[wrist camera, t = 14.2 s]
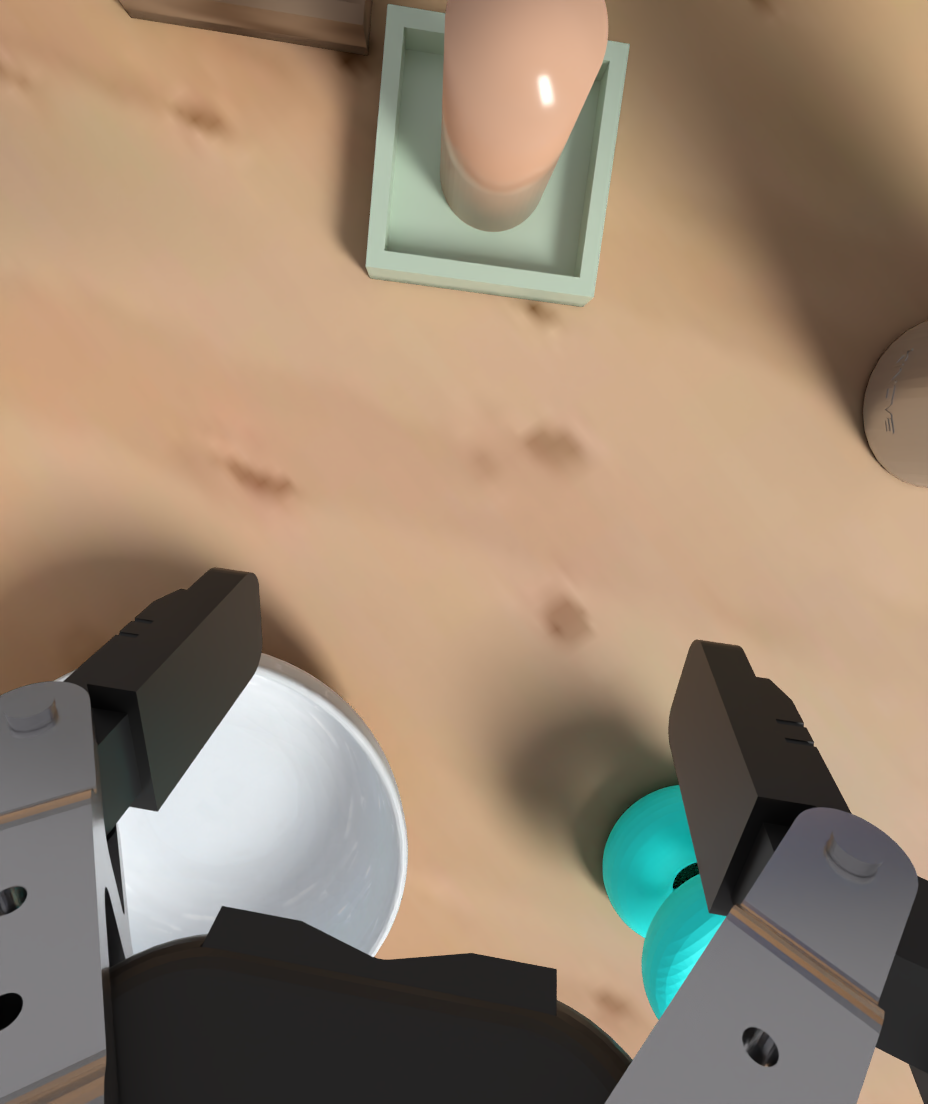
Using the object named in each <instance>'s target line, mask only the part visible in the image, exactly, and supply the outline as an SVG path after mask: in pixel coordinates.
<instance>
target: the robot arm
mask: <svg viewBox="0 0 928 1104" xmlns="http://www.w3.org/2000/svg"><path fill="white" fill-rule="evenodd" d="M863 419H864V430H865V433H866V437H867V440H868V443H869V446H870V448H871V450H872V451H873V453H874V455H875V457H876V458H877V460H878V461H879V462H880V464H881V465H882V466H883V467H884V468H885V469H886V470H887V471H888V472H889V473H891V474H892V475H894V476H895V477H897V478H898V479H900V480H901V481H903V482H906V483H909V484H912V485H915V486H917V487H926V488H928V321H925V322H922V323H920V324H919V325H917V326H915V327H913V328H911V329H910V330H908V331H906V332H905V333H904V334H903V335H901V336H900V337H899V338H898V339H897V340H896V341H894V342H893V343H892V344H891V345H890V347H889V348H888V349H887V350H886V352H885V353H884V354H883V355H882V357H881V358H880V359H879V361H878V363H877V365H876V367H875V369H874V370H873V372H872V374H871V376H870V379H869V383H868V386H867V389H866V392H865V398H864V407H863ZM261 653H262V628H261V612H260V596H259V583H258V579H257V577H256V575H255V574H254V573H249V572H243V571H236V570H229V569H222V568H216V567H215V568H211V569H210V570H208V571H207V572H206V573H205V574H204V575H203V576H202V577H201V578H200V579H199V580H197V581H196V582H195V583H194V584H193V585H192V586H191V587H190V588H189V589H188V590H184V589H179V590H177V591H175V592H173V593H171V594H169V595H166V596H164V597H162V598H160V599H158V600H156V601H154V602H153V603H151V604H150V605H149V606H148V607H147V608H146V609H145V610H143V611H142V612H141V613H140V614H139V615H138V616H137V617H136V618H135V621H131V622H130V623H129V624H128V625H126V626H125V627H124V628H123V629H122V630H121V631H120V634H119V635H115V636H114V637H113V638H112V639H111V640H109V641H108V642H107V643H106V644H105V645H104V646H103V647H101V648H100V649H99V650H98V651H97V652H96V653H95V654H93V655H92V656H91V657H90V658H89V659H88V660H87V661H86V662H84V663H83V664H82V665H81V666H80V667H79V668H78V669H76V670H75V671H74V672H73V673H72V674H71V675H70V676H69V677H67V678H66V679H65V680H64V681H63V682H61V681H50V682H41V683H35V684H30V685H26V686H23V687H20V688H17V689H14V690H12V691H9V692H7V693H5V694H3V695H1V696H0V1104H856V1103H857V1100H858V1097H859V1094H860V1091H861V1088H862V1085H863V1082H864V1079H865V1076H866V1073H867V1070H868V1067H869V1064H870V1061H871V1058H872V1055H873V1052H874V1049H875V1047H877V1048H879V1049H880V1050H882V1051H884V1052H886V1053H888V1054H890V1055H892V1056H894V1057H896V1058H898V1059H900V1060H902V1061H904V1062H906V1063H908V1064H909V1066H910V1069H911V1071H912V1074H913V1076H914V1079H915V1082H916V1084H917V1087H918V1089H919V1092H920V1095H921V1097H922V1100H923V1102H924V1104H928V881H927V880H925V879H923V878H921V877H918V876H917V874H916V871H915V868H914V866H913V864H912V863H911V861H910V859H909V858H908V856H907V855H906V854H905V852H904V851H903V850H902V849H901V848H900V847H899V845H898V844H897V843H896V842H895V841H893V840H892V839H891V838H890V837H889V836H888V835H887V834H885V833H884V832H883V831H881V830H880V829H879V828H877V827H876V826H874V825H872V824H871V823H869V822H867V821H866V820H864V819H862V818H860V817H858V816H855V815H853V814H851V812H850V810H849V808H848V806H847V804H846V802H845V800H844V798H843V797H842V795H841V793H840V791H839V789H838V787H837V785H836V783H835V781H834V779H833V778H832V776H831V774H830V772H829V770H828V768H827V766H826V764H825V762H824V760H823V759H822V757H821V755H820V753H819V751H818V749H817V747H814V741H813V739H812V738H811V736H810V734H809V732H808V730H807V728H805V727H804V722H803V720H802V719H801V717H800V715H799V713H798V711H797V709H796V707H795V705H794V703H793V701H792V700H791V699H790V698H789V697H788V696H787V695H786V694H785V693H784V692H783V691H781V690H780V689H779V688H778V687H777V686H776V685H775V684H774V683H773V682H772V681H771V680H770V679H766V678H760V677H756V676H755V674H754V672H753V670H752V668H751V665H750V663H749V661H748V659H747V657H746V655H745V653H744V651H743V649H742V648H741V647H740V646H737V645H730V644H724V643H717V642H710V641H703V640H695V641H693V643H692V644H691V646H690V648H689V651H688V654H687V658H686V661H685V664H684V667H683V671H682V674H681V677H680V680H679V684H678V687H677V690H676V694H675V697H674V700H673V703H672V707H671V711H670V716H669V727H668V734H669V743H670V748H671V752H672V757H673V761H674V765H675V770H676V774H677V778H678V782H679V787H680V791H681V795H682V800H683V804H684V808H685V813H686V817H687V821H688V826H689V830H690V834H691V838H692V843H693V847H694V851H695V856H696V860H697V864H698V869H699V873H700V877H701V881H702V886H703V890H704V894H705V899H706V903H707V907H708V912H709V913H711V914H717V915H722V916H726V918H725V919H724V921H723V922H722V924H721V925H720V927H719V929H718V930H717V932H716V933H715V935H714V936H713V938H712V939H711V941H710V942H709V944H708V945H707V947H706V948H705V950H704V952H703V953H702V955H701V956H700V958H699V959H698V961H697V962H696V964H695V965H694V967H693V968H692V970H691V972H690V973H689V975H688V976H687V978H686V979H685V981H684V982H683V984H682V985H681V987H680V988H679V990H678V992H677V993H676V995H675V996H674V998H673V999H672V1001H671V1002H670V1004H669V1005H668V1007H667V1008H666V1010H665V1012H664V1013H663V1015H662V1016H661V1018H660V1019H659V1021H658V1022H657V1024H656V1025H655V1027H654V1028H653V1030H652V1031H651V1033H650V1035H649V1036H648V1038H647V1039H646V1041H645V1042H644V1044H643V1045H642V1047H641V1048H640V1050H639V1051H638V1053H637V1055H636V1056H635V1058H634V1059H633V1060H632V1059H631V1057H630V1056H629V1055H628V1054H627V1053H626V1052H625V1051H624V1050H623V1049H622V1048H621V1047H620V1046H619V1045H618V1044H617V1043H616V1042H615V1041H614V1040H613V1039H612V1038H611V1037H610V1036H609V1035H608V1034H607V1033H605V1032H604V1031H603V1030H602V1029H601V1028H599V1027H598V1026H597V1025H596V1024H594V1023H593V1022H592V1021H591V1020H589V1019H588V1018H586V1017H585V1016H583V1015H582V1014H580V1013H579V1012H577V1011H576V1010H574V1009H573V1008H571V1007H569V1006H567V1005H565V1004H563V1003H562V1002H560V1001H558V1000H557V969H553V968H547V967H542V966H537V965H532V964H526V963H521V962H516V961H510V960H505V959H500V958H495V957H489V956H484V955H479V954H474V953H468V954H455V955H443V956H430V957H418V958H405V959H393V960H383V959H377V958H375V957H372V956H370V955H368V954H366V953H364V952H362V951H360V950H358V949H356V948H354V947H352V946H350V945H348V944H346V943H344V942H342V941H340V940H338V939H336V938H334V937H333V936H331V935H329V934H327V933H325V932H323V931H321V930H319V929H317V928H315V927H313V926H311V925H309V924H307V923H305V922H303V921H300V920H294V919H289V918H284V917H278V916H273V915H268V914H263V913H257V912H252V911H247V910H242V909H236V908H231V907H226V906H222V907H221V909H220V911H219V913H218V915H217V917H216V919H215V921H214V923H213V925H212V927H211V929H210V931H209V933H208V934H202V935H195V936H190V937H185V938H180V939H175V940H172V941H169V942H166V943H163V944H159V945H156V946H153V947H151V948H149V949H146V950H144V951H142V952H139V953H137V954H135V955H133V949H132V942H131V935H130V927H129V917H128V907H127V898H126V888H125V878H124V868H123V859H122V849H121V839H120V832H119V827H118V823H117V822H118V821H119V820H120V818H121V817H122V816H123V814H124V813H125V812H126V810H127V809H128V808H129V807H134V808H139V809H145V810H150V811H156V812H158V811H159V809H160V808H161V806H162V805H163V804H164V802H165V801H166V799H167V798H168V796H169V795H170V794H171V792H172V791H173V789H174V788H175V787H176V785H177V784H178V782H179V781H180V779H181V778H182V777H183V775H184V774H185V772H186V771H187V770H188V768H189V767H190V765H191V764H192V762H193V761H194V760H195V758H196V757H197V755H198V754H199V752H200V751H201V750H202V748H203V747H204V745H205V744H206V743H207V741H208V740H209V738H210V737H211V735H212V734H213V733H214V731H215V730H216V728H217V727H218V725H219V724H220V723H221V721H222V720H223V718H224V717H225V716H226V714H227V713H228V711H229V710H230V708H231V707H232V706H233V704H234V703H235V701H236V700H237V699H238V697H239V696H240V694H241V693H242V691H243V690H244V689H245V687H246V686H247V684H248V683H249V681H250V680H251V679H252V677H253V676H254V674H255V672H256V670H257V668H258V665H259V662H260V658H261Z"/></svg>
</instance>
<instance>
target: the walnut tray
mask: <svg viewBox="0 0 928 1104" xmlns="http://www.w3.org/2000/svg"><path fill="white" fill-rule="evenodd" d="M119 1H120V3H121V4H122V5H123V7H124V8H125V10H126V11H127V13H128V14H129V15H130V17H131V18H137V19H143V20H150V21H156V22H162V23H168V24H175V25H181V26H187V27H193V28H200V29H206V30H212V31H218V32H225V33H231V34H237V35H243V36H250V37H256V38H262V39H268V40H275V41H281V42H287V43H293V44H300V45H306V46H312V47H318V48H325V49H331V50H337V51H343V52H350V53H356V54H362V55H368V48H369V35H370V23H371V10H372V0H119Z"/></svg>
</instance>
